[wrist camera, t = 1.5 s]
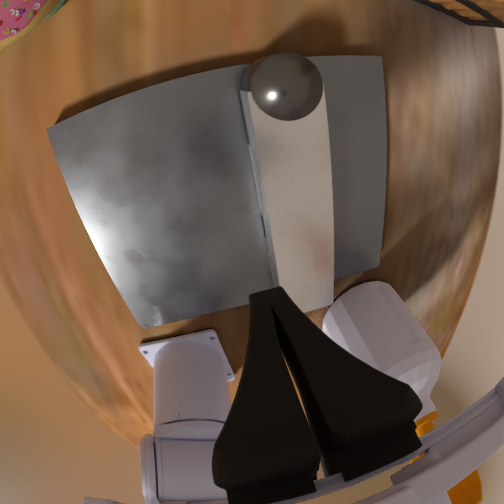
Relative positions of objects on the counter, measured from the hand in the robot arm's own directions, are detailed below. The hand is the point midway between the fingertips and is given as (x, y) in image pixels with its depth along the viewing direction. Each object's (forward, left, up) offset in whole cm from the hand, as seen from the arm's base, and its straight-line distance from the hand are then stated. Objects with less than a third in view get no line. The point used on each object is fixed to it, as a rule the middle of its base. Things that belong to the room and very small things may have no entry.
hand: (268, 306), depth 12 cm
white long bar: (+1, -4, -9) cm, 10 cm away
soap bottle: (-16, -11, -11) cm, 22 cm away
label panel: (0, -1, -10) cm, 10 cm away
